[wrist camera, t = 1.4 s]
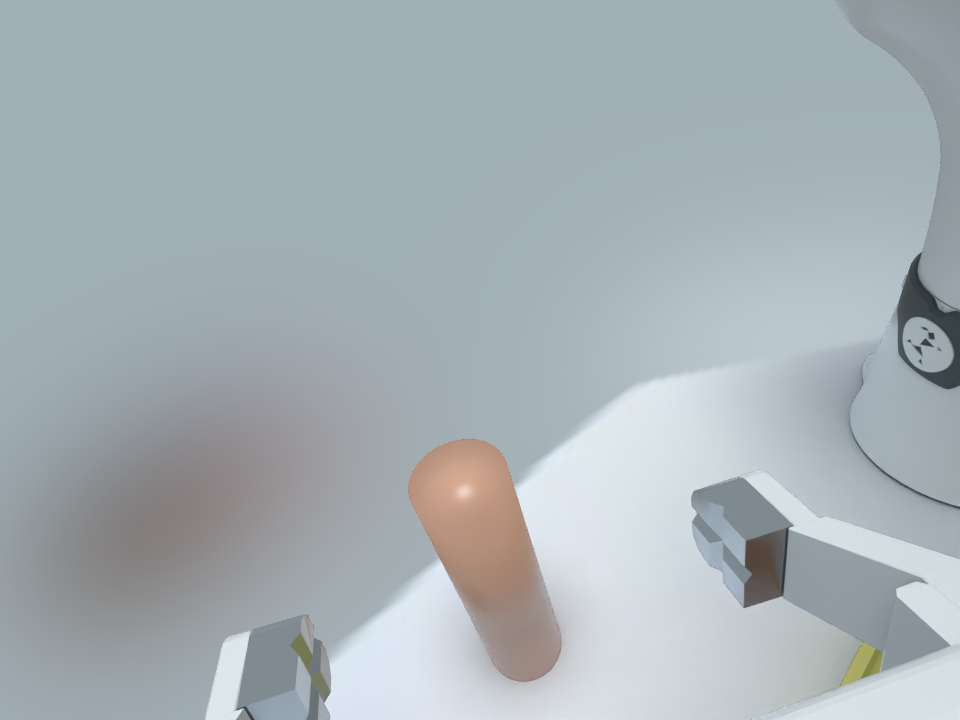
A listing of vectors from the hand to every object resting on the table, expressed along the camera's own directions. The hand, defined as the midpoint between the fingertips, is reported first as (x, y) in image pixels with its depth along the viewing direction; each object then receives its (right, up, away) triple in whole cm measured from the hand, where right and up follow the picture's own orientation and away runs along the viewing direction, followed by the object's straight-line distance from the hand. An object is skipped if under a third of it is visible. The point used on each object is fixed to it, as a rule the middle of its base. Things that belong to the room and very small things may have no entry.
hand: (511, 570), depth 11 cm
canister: (+2, -15, +27) cm, 31 cm away
